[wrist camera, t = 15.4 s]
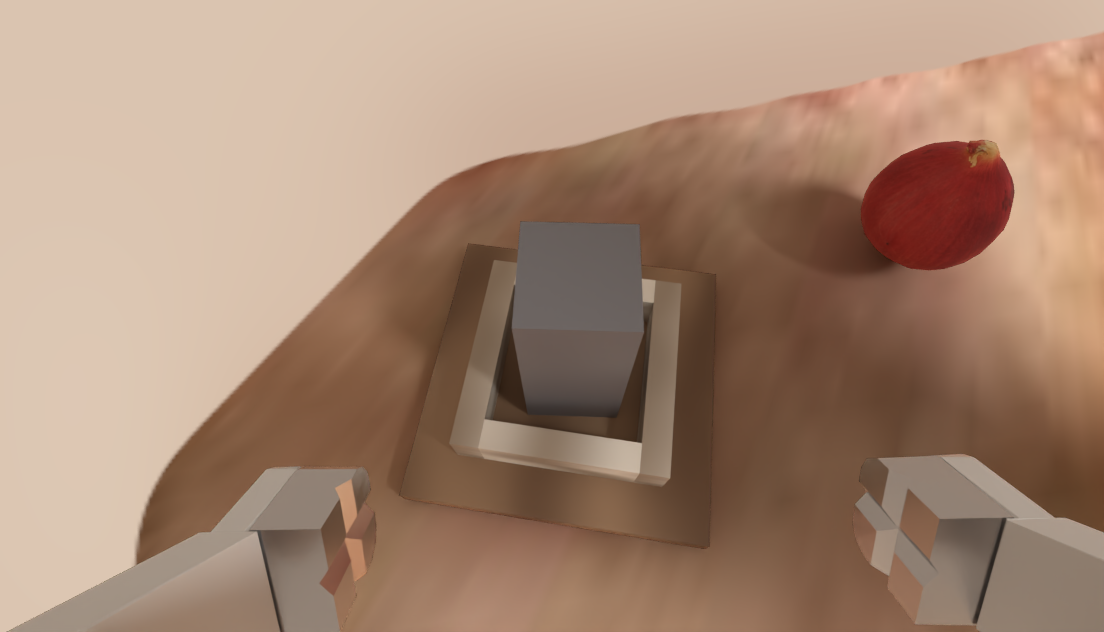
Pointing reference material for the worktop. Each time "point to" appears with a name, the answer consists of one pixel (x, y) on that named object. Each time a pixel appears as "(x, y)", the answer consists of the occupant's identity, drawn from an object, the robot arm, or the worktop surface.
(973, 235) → the onion
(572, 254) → the plug
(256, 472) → the worktop surface
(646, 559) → the worktop surface
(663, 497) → the socket board
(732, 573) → the worktop surface
